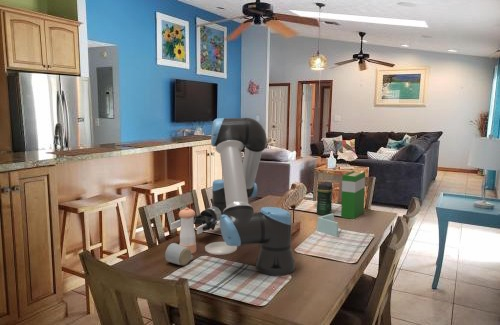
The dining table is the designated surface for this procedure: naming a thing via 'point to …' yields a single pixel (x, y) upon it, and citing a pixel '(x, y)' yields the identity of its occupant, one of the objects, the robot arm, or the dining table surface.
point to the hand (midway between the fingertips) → (184, 228)
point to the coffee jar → (324, 198)
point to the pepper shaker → (187, 229)
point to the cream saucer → (220, 248)
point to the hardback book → (353, 194)
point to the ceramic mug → (178, 254)
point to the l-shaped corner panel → (328, 225)
